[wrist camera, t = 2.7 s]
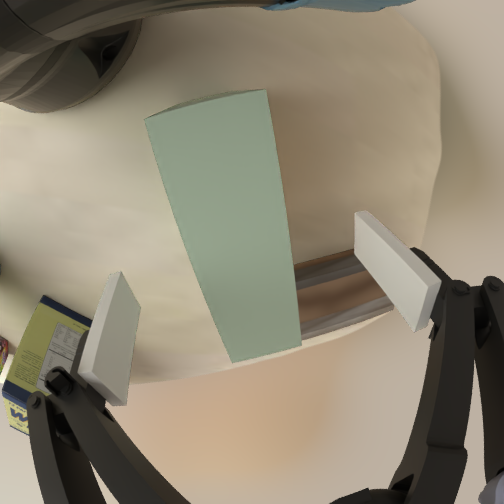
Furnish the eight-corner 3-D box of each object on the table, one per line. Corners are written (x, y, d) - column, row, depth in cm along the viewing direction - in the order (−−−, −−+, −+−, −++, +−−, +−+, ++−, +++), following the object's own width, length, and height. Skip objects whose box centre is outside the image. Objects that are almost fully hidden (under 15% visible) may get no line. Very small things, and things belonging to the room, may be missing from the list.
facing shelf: (221, 283, 32) (224, 300, 30) (391, 238, 33) (404, 250, 31) (241, 340, 38) (244, 356, 36) (383, 297, 39) (393, 311, 36)
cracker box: (175, 105, 21) (144, 119, 10) (234, 90, 22) (270, 88, 10) (217, 254, 30) (232, 363, 19) (264, 243, 30) (304, 344, 19)
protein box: (33, 350, 34) (9, 427, 21) (42, 292, 29) (-1, 389, 16) (85, 375, 39) (72, 454, 26) (109, 326, 33) (88, 431, 20)
